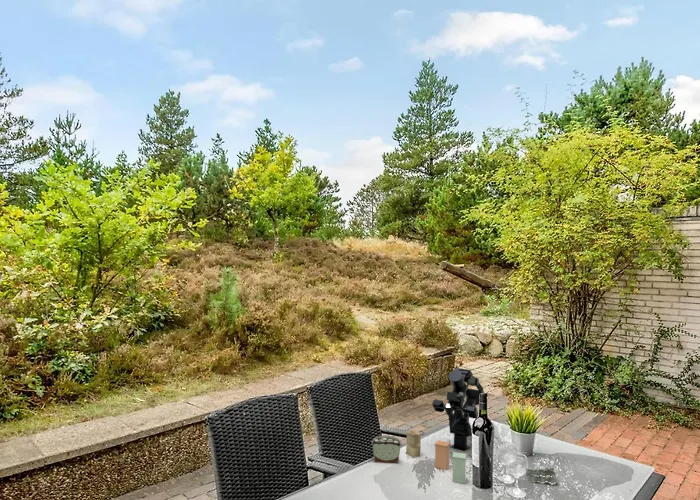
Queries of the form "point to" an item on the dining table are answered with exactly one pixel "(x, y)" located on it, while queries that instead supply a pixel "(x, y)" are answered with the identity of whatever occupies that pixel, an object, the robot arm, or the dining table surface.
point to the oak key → (413, 443)
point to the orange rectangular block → (442, 454)
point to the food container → (386, 449)
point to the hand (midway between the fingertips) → (450, 427)
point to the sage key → (459, 467)
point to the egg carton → (535, 474)
